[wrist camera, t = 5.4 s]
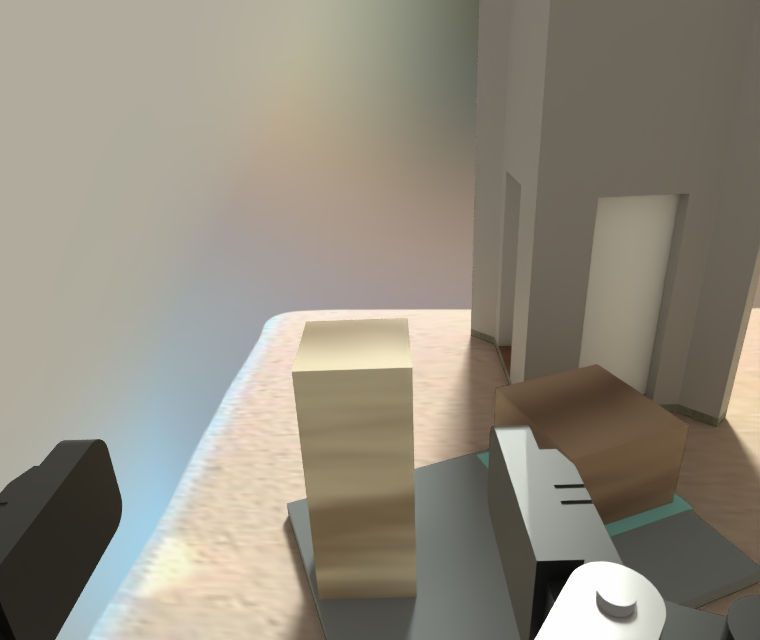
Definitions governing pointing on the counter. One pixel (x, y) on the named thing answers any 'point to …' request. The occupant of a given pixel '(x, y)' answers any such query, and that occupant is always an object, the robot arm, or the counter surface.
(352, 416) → the pillar
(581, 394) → the base block
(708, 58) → the cabinet
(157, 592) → the counter surface
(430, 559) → the mat
